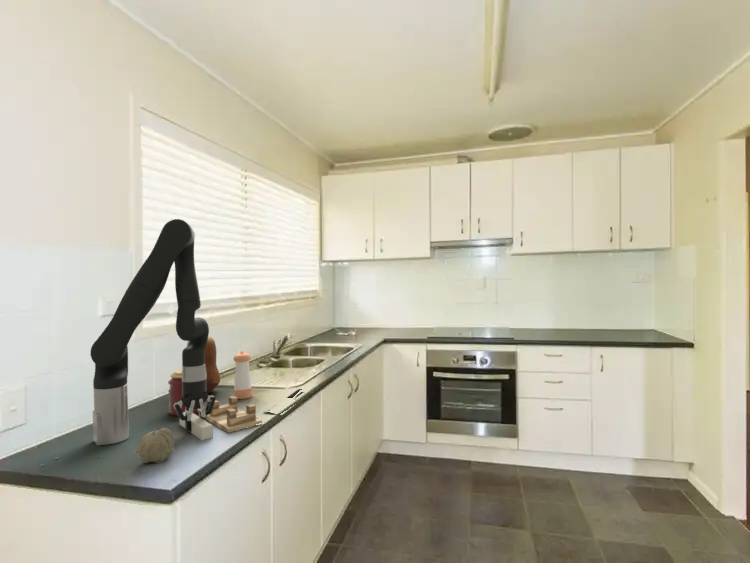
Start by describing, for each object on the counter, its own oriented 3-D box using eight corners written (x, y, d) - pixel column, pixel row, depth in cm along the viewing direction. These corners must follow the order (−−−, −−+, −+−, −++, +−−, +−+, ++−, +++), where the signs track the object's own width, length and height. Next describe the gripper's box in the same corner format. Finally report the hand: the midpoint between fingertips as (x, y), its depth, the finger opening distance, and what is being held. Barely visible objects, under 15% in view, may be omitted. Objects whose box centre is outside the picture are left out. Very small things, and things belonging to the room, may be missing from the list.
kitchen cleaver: (286, 413, 162) (261, 409, 165) (286, 418, 162) (261, 413, 165) (316, 391, 193) (295, 387, 195) (316, 395, 193) (294, 391, 195)
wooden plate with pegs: (261, 424, 153) (261, 405, 153) (228, 433, 145) (228, 413, 145) (236, 411, 168) (235, 394, 168) (204, 418, 160) (204, 400, 160)
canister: (192, 417, 162) (191, 369, 161) (161, 415, 164) (159, 368, 164) (212, 406, 175) (211, 361, 174) (183, 404, 177) (181, 360, 177)
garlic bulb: (171, 463, 128) (183, 429, 130) (162, 471, 120) (175, 434, 122) (138, 455, 127) (151, 420, 129) (127, 463, 119) (141, 425, 121)
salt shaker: (238, 400, 183) (237, 353, 182) (231, 396, 188) (230, 351, 188) (254, 396, 188) (254, 351, 187) (247, 393, 193) (246, 349, 192)
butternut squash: (200, 388, 202) (199, 333, 202) (226, 390, 199) (225, 334, 198) (179, 396, 189) (178, 338, 188) (206, 398, 185) (205, 339, 185)
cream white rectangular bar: (213, 437, 142) (212, 425, 141) (202, 440, 139) (201, 427, 139) (189, 422, 156) (189, 411, 156) (179, 424, 154) (179, 413, 154)
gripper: (210, 372, 155) (212, 421, 155) (168, 380, 145) (169, 432, 146) (219, 376, 149) (221, 427, 150) (175, 384, 140) (177, 438, 140)
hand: (195, 429), depth 148 cm, fingers closed on cream white rectangular bar, 3 cm apart
